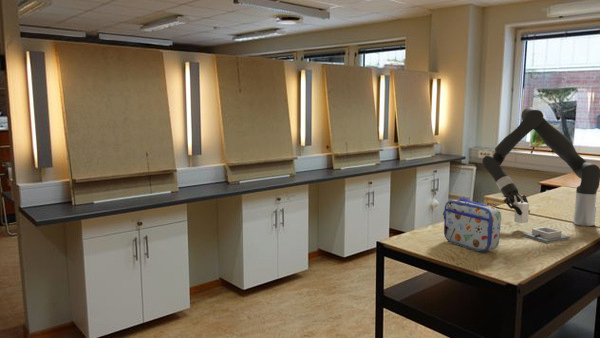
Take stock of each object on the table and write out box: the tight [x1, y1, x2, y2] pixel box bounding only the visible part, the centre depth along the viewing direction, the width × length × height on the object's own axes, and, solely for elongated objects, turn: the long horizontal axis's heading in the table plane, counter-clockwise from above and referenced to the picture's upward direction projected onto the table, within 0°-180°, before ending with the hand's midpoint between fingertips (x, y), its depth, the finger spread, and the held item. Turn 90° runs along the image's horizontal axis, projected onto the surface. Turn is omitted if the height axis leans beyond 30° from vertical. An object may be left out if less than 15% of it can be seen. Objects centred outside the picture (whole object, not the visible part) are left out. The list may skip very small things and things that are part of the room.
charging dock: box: [522, 226, 571, 244], centre depth 225 cm, size 16×13×4 cm
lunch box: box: [442, 196, 502, 252], centre depth 211 cm, size 28×10×22 cm, turn 32°
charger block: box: [513, 200, 530, 224], centre depth 236 cm, size 5×5×11 cm
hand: (524, 213), depth 235 cm, fingers closed on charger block, 4 cm apart
